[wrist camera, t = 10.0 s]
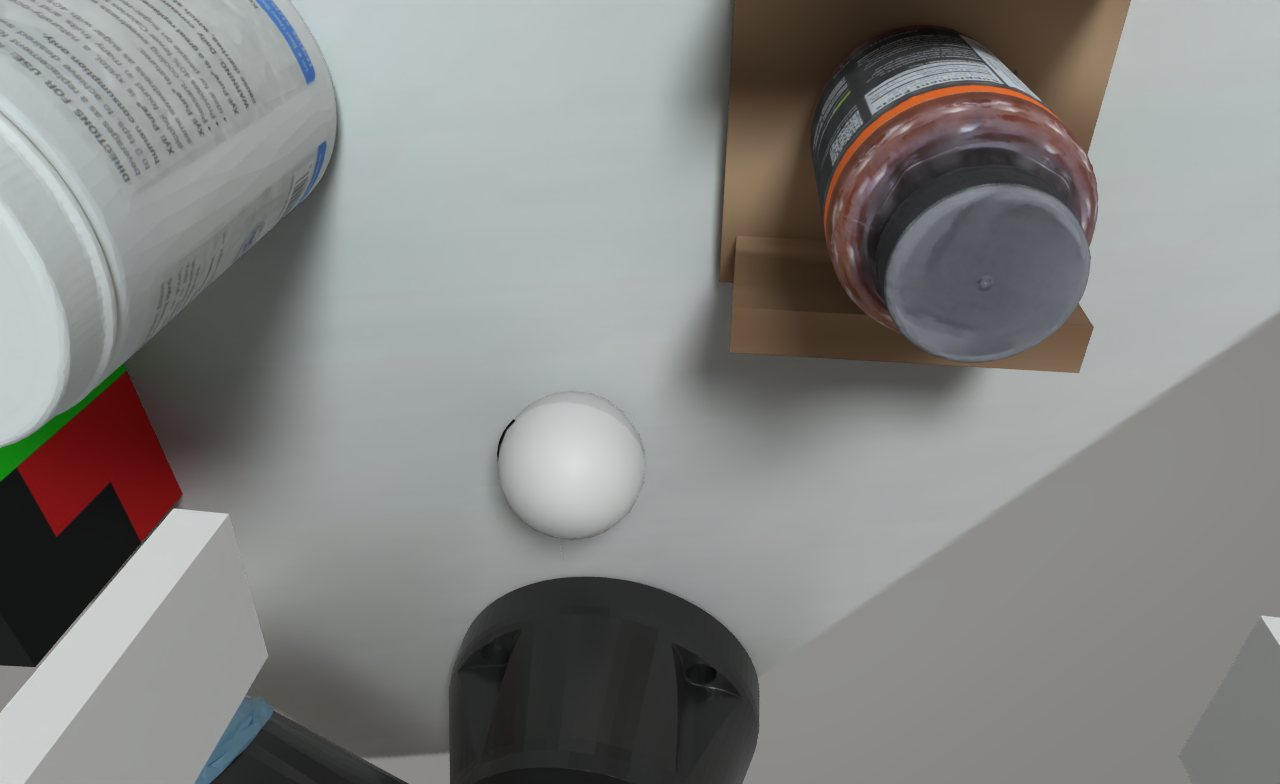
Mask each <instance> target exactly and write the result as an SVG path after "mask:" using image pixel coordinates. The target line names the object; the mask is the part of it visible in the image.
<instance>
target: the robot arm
mask: <svg viewBox="0 0 1280 784" xmlns="http://www.w3.org/2000/svg"><path fill="white" fill-rule="evenodd" d="M267 657H268V653H267V649H266V645H265V642H264V638H263V635H262V631H261V627H260V624H259V620H258V617H257V613H256V609H255V606H254V602H253V599H252V595H251V591H250V588H249V584H248V581H247V577H246V573H245V570H244V566H243V562H242V559H241V555H240V552H239V548H238V544H237V541H236V537H235V534H234V530H233V526H232V523H231V519H230V516H229V514H225V513H214V512H204V511H194V510H184V509H173V510H172V511H171V512H170V513H169V514H168V516H167V517H166V518H165V519H164V520H163V522H162V523H161V524H160V525H159V526H158V527H157V529H156V530H155V531H154V532H153V533H152V534H151V536H150V537H149V538H148V539H147V540H146V542H145V543H144V544H143V545H142V546H141V547H140V549H139V550H138V551H137V552H136V553H135V555H134V556H133V557H132V558H131V559H130V560H129V562H128V563H127V564H126V565H125V566H124V567H123V569H122V570H121V571H120V572H119V573H118V575H117V576H116V577H115V578H114V579H113V580H112V582H111V583H110V584H109V585H108V586H107V588H106V589H105V590H104V591H103V592H102V593H101V595H100V596H99V597H98V598H97V599H96V601H95V602H94V603H93V604H92V605H91V606H90V608H89V609H88V610H87V611H86V612H85V613H84V615H83V616H82V617H81V618H80V619H79V621H78V622H77V623H76V624H75V625H74V627H73V628H72V629H71V630H70V631H69V633H68V634H67V635H66V636H65V637H64V638H63V640H62V641H61V642H60V643H59V644H58V645H57V646H56V648H55V649H54V650H53V651H52V653H51V654H50V655H49V656H48V657H47V658H46V659H45V661H44V662H43V663H42V664H41V665H40V667H39V668H38V669H37V670H36V671H35V673H34V674H33V675H32V676H31V677H30V678H29V680H28V681H27V682H26V683H25V684H24V685H23V687H22V688H21V689H20V690H19V691H18V693H17V694H16V695H15V696H14V697H13V698H12V700H11V701H10V702H9V703H8V704H7V706H6V707H5V708H4V709H3V710H2V711H1V713H0V784H408V783H406V782H404V781H402V780H400V779H399V778H397V777H395V776H393V775H391V774H390V773H388V772H386V771H384V770H382V769H380V768H378V767H377V766H375V765H373V764H371V763H369V762H367V761H366V760H364V759H362V758H360V757H358V756H356V755H354V754H353V753H351V752H349V751H347V750H345V749H343V748H342V747H340V746H338V745H336V744H334V743H332V742H331V741H329V740H327V739H325V738H323V737H321V736H319V735H318V734H316V733H314V732H312V731H310V730H308V729H307V728H305V727H303V726H301V725H299V724H297V723H295V722H294V721H292V720H290V719H288V718H286V717H284V716H283V715H281V714H279V713H277V712H275V711H274V708H273V706H272V705H271V704H270V703H269V702H267V701H266V700H265V699H264V698H260V697H253V698H247V697H245V695H246V694H247V692H248V690H249V688H250V687H251V685H252V683H253V682H254V680H255V678H256V676H257V675H258V673H259V671H260V669H261V668H262V666H263V664H264V663H265V661H266V659H267ZM758 732H759V684H758V678H757V674H756V671H755V668H754V666H753V663H752V661H751V659H750V657H749V655H748V654H747V652H746V651H745V649H744V647H743V646H742V645H741V643H740V642H739V641H738V640H737V638H736V637H735V636H734V635H733V634H732V633H731V632H730V631H729V630H728V629H727V628H726V627H725V626H724V625H723V624H721V623H720V622H719V621H718V620H716V619H715V618H714V617H712V616H711V615H710V614H708V613H707V612H705V611H704V610H702V609H700V608H699V607H697V606H695V605H694V604H692V603H690V602H688V601H686V600H684V599H682V598H680V597H678V596H675V595H673V594H670V593H668V592H665V591H663V590H660V589H657V588H654V587H650V586H647V585H643V584H639V583H635V582H630V581H625V580H619V579H611V578H600V577H571V578H560V579H553V580H548V581H543V582H539V583H534V584H531V585H528V586H525V587H522V588H520V589H517V590H515V591H513V592H510V593H508V594H506V595H504V596H503V597H501V598H499V599H498V600H496V601H495V602H493V603H492V604H490V605H489V606H488V607H487V608H486V609H485V610H483V611H482V612H481V613H480V614H479V615H478V617H477V618H476V619H475V620H474V622H473V623H472V625H471V626H470V628H469V629H468V631H467V633H466V635H465V638H464V641H463V644H462V646H461V649H460V652H459V655H458V658H457V660H456V663H455V666H454V669H453V672H452V676H451V681H450V687H449V739H450V784H742V783H743V780H744V778H745V775H746V772H747V770H748V767H749V765H750V762H751V760H752V757H753V754H754V751H755V748H756V744H757V738H758ZM1179 758H1180V760H1181V762H1182V764H1183V766H1184V768H1185V770H1186V773H1187V775H1188V777H1189V779H1190V781H1191V783H1192V784H1280V618H1277V617H1268V616H1260V617H1259V619H1258V621H1257V622H1256V624H1255V626H1254V628H1253V629H1252V631H1251V633H1250V634H1249V636H1248V638H1247V640H1246V641H1245V643H1244V645H1243V646H1242V648H1241V650H1240V652H1239V653H1238V655H1237V657H1236V658H1235V660H1234V662H1233V663H1232V665H1231V667H1230V669H1229V670H1228V672H1227V674H1226V675H1225V677H1224V679H1223V680H1222V682H1221V684H1220V686H1219V687H1218V689H1217V691H1216V693H1215V694H1214V696H1213V698H1212V699H1211V701H1210V703H1209V704H1208V706H1207V708H1206V710H1205V711H1204V713H1203V715H1202V716H1201V718H1200V720H1199V721H1198V723H1197V725H1196V727H1195V728H1194V730H1193V732H1192V734H1191V735H1190V737H1189V738H1188V740H1187V742H1186V744H1185V745H1184V747H1183V749H1182V750H1181V752H1180V754H1179Z"/></svg>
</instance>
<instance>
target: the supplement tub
mask: <svg viewBox="0 0 1280 784" xmlns="http://www.w3.org/2000/svg"><path fill="white" fill-rule="evenodd" d="M336 127H337V113H336V100H335V94H334V90H333V85H332V80H331V76H330V73H329V71H328V68H327V65H326V62H325V60H324V58H323V55H322V53H321V51H320V49H319V47H318V45H317V43H316V41H315V39H314V37H313V35H312V33H311V31H310V30H309V28H308V26H307V25H306V23H305V21H304V20H303V18H302V17H301V15H300V14H299V12H298V11H297V10H296V8H295V7H294V6H293V4H292V3H291V2H290V0H0V448H1V447H4V446H7V445H10V444H13V443H16V442H18V441H20V440H22V439H24V438H26V437H28V436H30V435H31V434H33V433H34V432H36V431H37V430H38V429H39V428H41V427H42V426H43V425H44V424H46V423H47V422H48V421H50V420H51V419H52V418H53V417H55V416H56V415H58V414H61V413H63V412H65V411H66V410H68V409H70V408H71V407H73V406H75V405H76V404H77V403H79V402H80V401H81V400H82V399H84V398H85V397H86V396H87V395H88V394H89V393H90V392H91V391H92V390H93V389H94V388H96V387H97V386H98V385H99V384H100V383H101V382H103V381H104V380H105V379H106V378H107V377H108V376H109V375H110V374H112V373H113V372H114V371H115V370H116V369H117V368H118V367H120V366H121V365H122V364H123V363H124V362H126V361H127V360H128V359H129V358H130V357H131V356H132V355H133V354H134V353H136V352H137V351H138V350H139V349H140V348H141V347H142V346H143V345H144V344H145V343H147V342H148V341H149V340H150V339H151V338H152V337H153V336H154V335H155V334H156V333H158V332H159V331H160V330H161V329H162V328H163V327H164V326H165V325H166V324H168V323H169V322H170V321H171V320H172V319H173V318H174V317H175V316H176V315H177V314H179V313H180V312H181V311H182V310H183V309H184V308H185V307H186V306H187V305H188V304H189V303H191V302H192V301H193V300H194V299H195V298H196V297H197V296H198V295H199V294H200V293H201V292H202V291H204V290H205V289H206V288H207V287H208V286H209V285H210V284H211V283H212V282H213V281H214V280H216V279H217V278H218V277H219V276H220V275H221V274H222V273H223V272H225V271H226V270H227V269H228V268H229V267H230V266H231V265H232V264H233V263H235V262H236V261H237V260H238V259H239V258H240V257H241V256H242V255H243V254H245V253H246V252H247V251H248V250H249V249H250V248H251V247H252V246H253V245H254V244H256V243H257V242H258V241H259V240H260V239H261V238H262V237H263V236H264V235H265V234H266V233H268V232H269V231H270V230H271V229H272V228H274V227H275V226H276V225H277V224H278V223H279V222H280V221H281V220H282V219H283V218H284V217H285V216H286V215H287V214H288V213H290V212H291V211H292V210H293V209H294V208H295V207H296V206H297V205H299V204H300V203H301V202H302V201H303V200H304V199H305V198H306V197H307V196H308V195H309V194H310V193H311V192H312V190H313V189H314V188H315V187H316V185H317V184H318V183H319V181H320V179H321V178H322V176H323V175H324V173H325V170H326V168H327V166H328V164H329V161H330V158H331V155H332V152H333V148H334V143H335V137H336Z"/></svg>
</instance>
